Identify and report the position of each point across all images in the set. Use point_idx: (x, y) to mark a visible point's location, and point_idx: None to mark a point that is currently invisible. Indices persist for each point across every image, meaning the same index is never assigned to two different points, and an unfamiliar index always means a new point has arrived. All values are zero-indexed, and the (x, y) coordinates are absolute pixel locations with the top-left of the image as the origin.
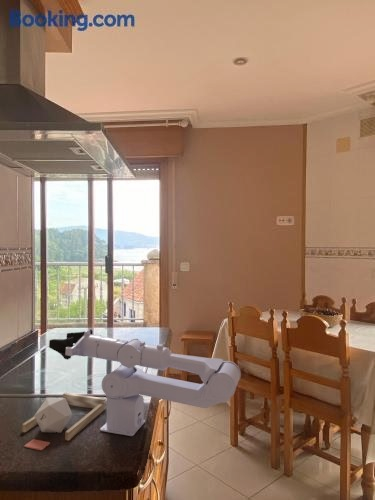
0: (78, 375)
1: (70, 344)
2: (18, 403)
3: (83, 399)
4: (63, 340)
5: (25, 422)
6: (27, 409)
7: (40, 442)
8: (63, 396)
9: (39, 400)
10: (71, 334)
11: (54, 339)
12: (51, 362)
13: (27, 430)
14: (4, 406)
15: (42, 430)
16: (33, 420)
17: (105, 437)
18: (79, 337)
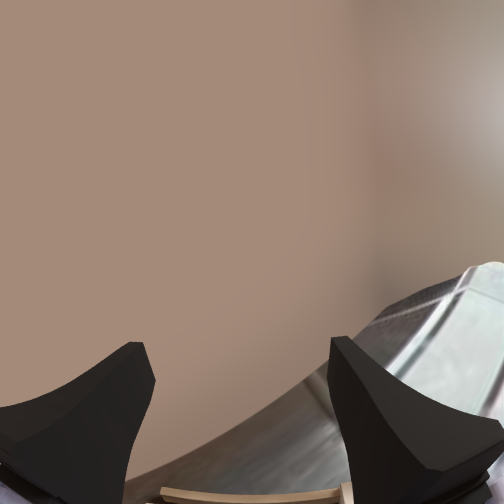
0: (467, 396)
1: (18, 474)
2: (291, 415)
3: None
4: (17, 404)
5: (171, 489)
6: (273, 448)
7: None
8: (339, 487)
9: (324, 438)
10: (341, 365)
11: (119, 355)
12: (451, 327)
13: (172, 502)
14: (269, 404)
15: None
16: (189, 499)
17: None
18: (366, 436)
